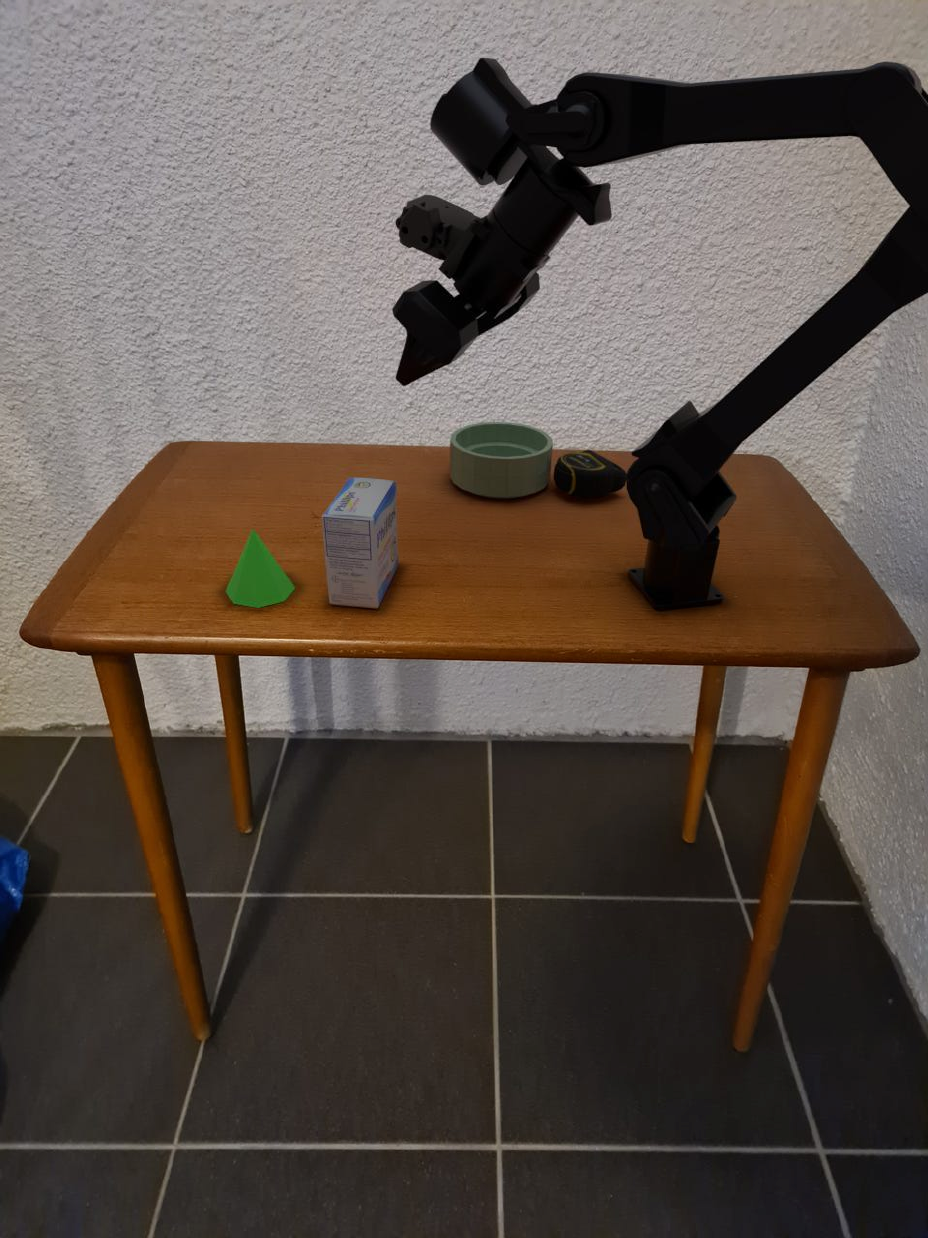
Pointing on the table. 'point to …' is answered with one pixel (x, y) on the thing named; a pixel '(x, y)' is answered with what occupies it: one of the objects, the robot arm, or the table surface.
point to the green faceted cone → (258, 577)
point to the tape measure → (588, 475)
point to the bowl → (500, 459)
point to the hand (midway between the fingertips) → (423, 364)
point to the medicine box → (361, 542)
